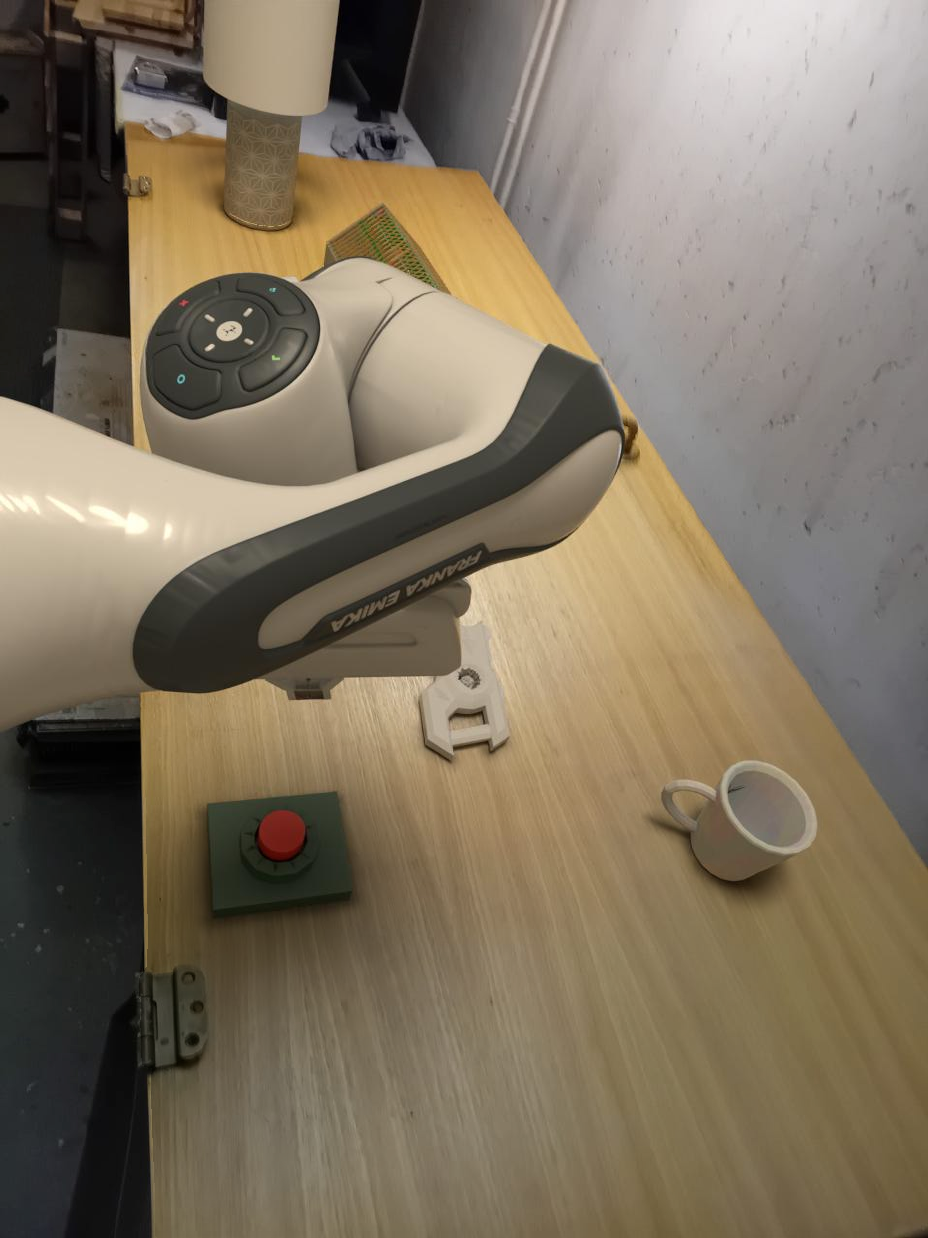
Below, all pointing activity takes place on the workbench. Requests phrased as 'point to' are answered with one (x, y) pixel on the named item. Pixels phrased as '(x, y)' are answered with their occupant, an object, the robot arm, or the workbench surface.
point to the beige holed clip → (466, 698)
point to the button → (281, 835)
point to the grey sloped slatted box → (383, 246)
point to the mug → (746, 819)
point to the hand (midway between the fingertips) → (311, 690)
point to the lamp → (267, 95)
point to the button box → (272, 884)
